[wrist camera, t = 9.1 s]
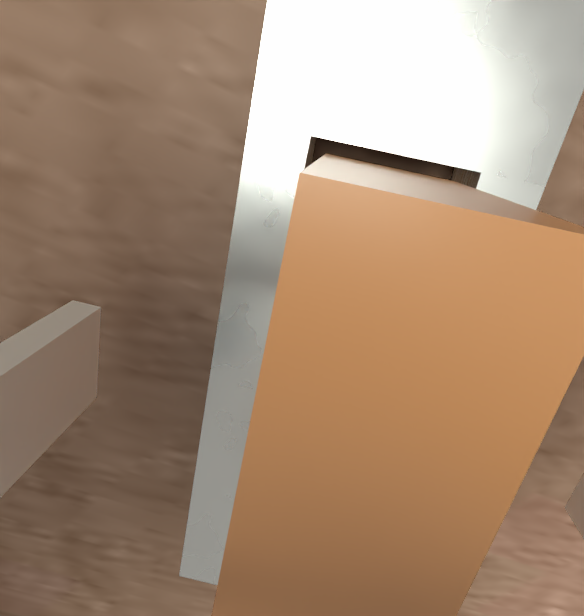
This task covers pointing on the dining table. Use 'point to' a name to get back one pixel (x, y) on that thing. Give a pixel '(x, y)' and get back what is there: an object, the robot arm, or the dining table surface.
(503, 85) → the grey slotted block
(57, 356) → the robot arm
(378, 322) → the tan notched block
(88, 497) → the dining table surface
